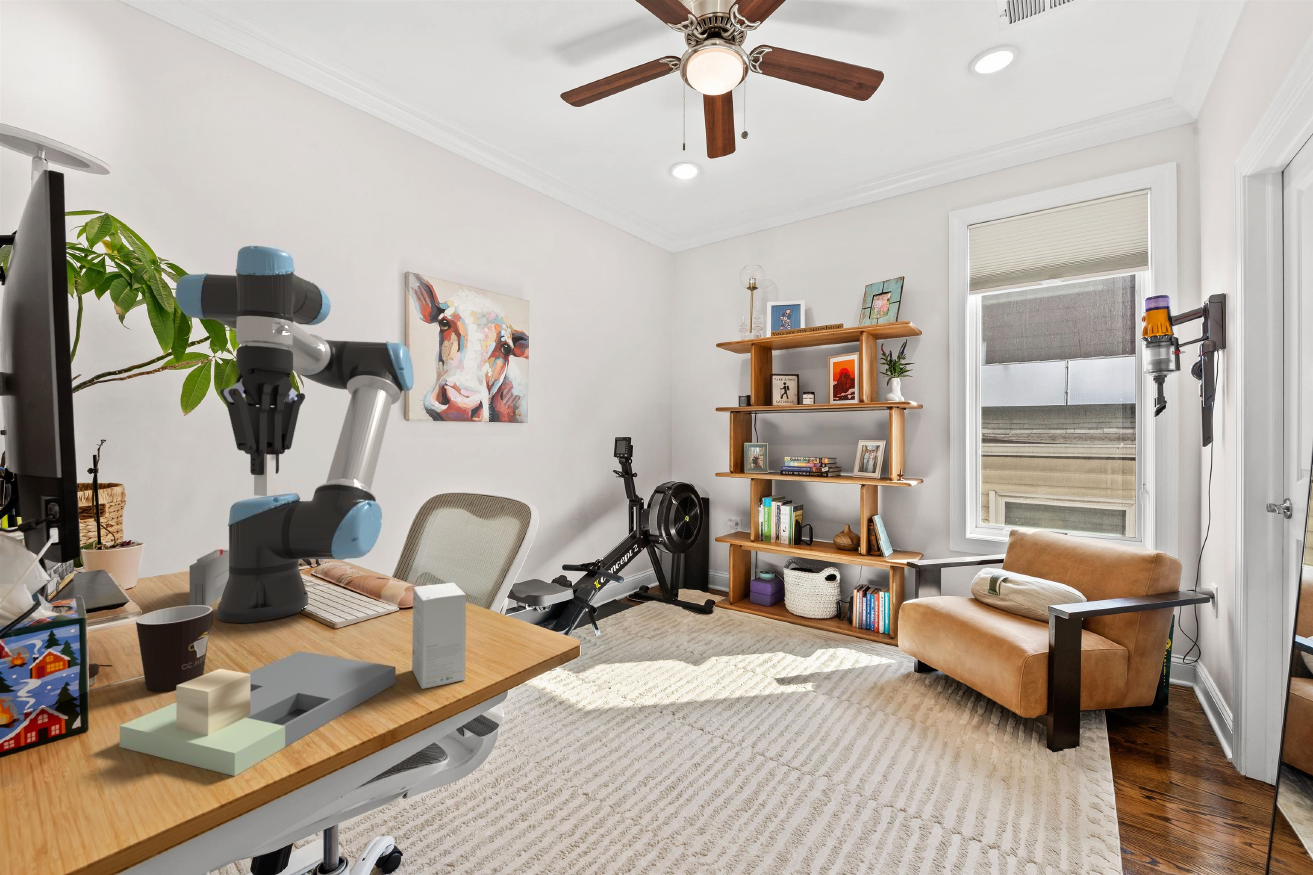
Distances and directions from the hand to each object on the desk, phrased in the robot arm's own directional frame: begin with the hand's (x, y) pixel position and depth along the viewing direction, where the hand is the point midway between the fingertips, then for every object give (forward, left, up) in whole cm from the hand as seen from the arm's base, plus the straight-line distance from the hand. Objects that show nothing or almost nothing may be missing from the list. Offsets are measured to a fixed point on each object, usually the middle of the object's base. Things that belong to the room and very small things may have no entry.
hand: (264, 495), depth 93 cm
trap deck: (+12, +17, -26) cm, 34 cm away
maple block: (+20, +17, -24) cm, 36 cm away
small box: (-4, +30, -27) cm, 40 cm away
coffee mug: (+9, -4, -27) cm, 28 cm away
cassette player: (-21, -40, -27) cm, 52 cm away
